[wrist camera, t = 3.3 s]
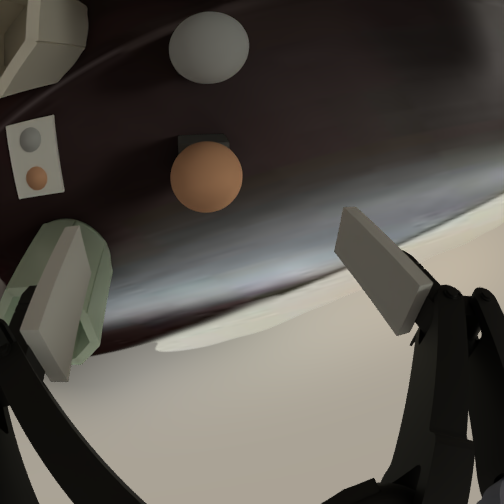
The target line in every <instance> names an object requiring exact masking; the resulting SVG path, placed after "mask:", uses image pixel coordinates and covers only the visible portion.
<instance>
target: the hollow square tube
mask: <svg viewBox="0 0 504 504" xmlns="http://www.w3.org/2000/svg"><path fill="white" fill-rule="evenodd" d="M203 141H211V142H216V143H220V144H222V145H224V146H226V147H227V148H229V141H228V139H227V138H226V136H225V135H224V134H200V135H180V136H178V155H179V154H180V153H181V152H182V151H183V150H184V149H185V148H187V147H188V146H190V145H192V144H194V143H197V142H203Z"/></svg>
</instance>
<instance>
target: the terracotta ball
mask: <svg viewBox="0 0 504 504" xmlns="http://www.w3.org/2000/svg"><path fill="white" fill-rule="evenodd" d="M170 179H171V186H172V189H173V192H174V194H175V195H176V197H177V199H178V200H179V201H180V202H181V203H182V204H183V205H185V206H186V207H187V208H189V209H191V210H194V211H197V212H204V213H206V212H214V211H218V210H221V209H223V208H224V207H226V206H227V205H229V204H230V203H231V202H232V201H233V200H234V199H235V198H236V196H237V194H238V193H239V190H240V188H241V185H242V168H241V165H240V162H239V160H238V158H237V157H236V155H235V154H234V153H233V152H232V151H231V150H230V149H229V148H227V147H226V146H224V145H222V144H220V143H216V142H211V141H203V142H197V143H194V144H192V145H190V146H188V147H187V148H185V149H184V150H183V151H182V152H181V153H180V154H179V155H178V156H177V158H176V159H175V161H174V163H173V166H172V169H171V177H170Z"/></svg>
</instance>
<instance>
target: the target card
mask: <svg viewBox="0 0 504 504" xmlns="http://www.w3.org/2000/svg"><path fill="white" fill-rule="evenodd" d="M6 133H7V140H8V147H9V153H10V159H11V164H12V169H13V174H14V179H15V184H16V188H17V193H18V197H19V199H22V198H28V197H35V196H41V195H48V194H54V193H61V192H64V191H65V189H64V184H63V178H62V172H61V166H60V160H59V153H58V145H57V137H56V129H55V119H54V115H50V116H46V117H41V118H37V119H32V120H28V121H24V122H20V123H16V124H12V125H9V126H6Z"/></svg>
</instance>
